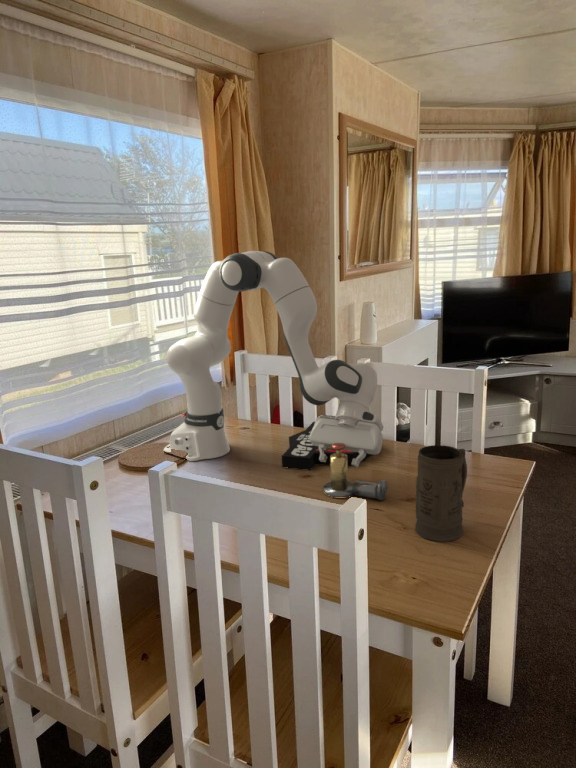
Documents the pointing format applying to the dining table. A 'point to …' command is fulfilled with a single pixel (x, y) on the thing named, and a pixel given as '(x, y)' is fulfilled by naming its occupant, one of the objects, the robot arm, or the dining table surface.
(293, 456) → the decorative sign
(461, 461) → the beer stein
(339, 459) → the valve
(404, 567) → the dining table surface
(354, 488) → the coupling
